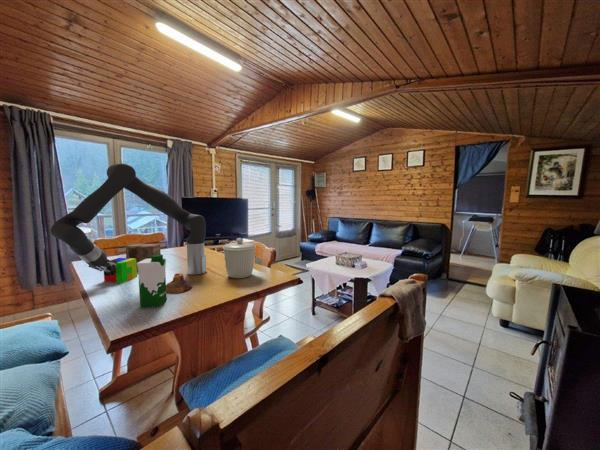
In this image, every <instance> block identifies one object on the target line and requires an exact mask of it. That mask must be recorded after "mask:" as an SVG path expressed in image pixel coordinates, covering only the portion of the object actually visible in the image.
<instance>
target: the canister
mask: <svg viewBox="0 0 600 450" xmlns="http://www.w3.org/2000/svg"><path fill="white" fill-rule="evenodd" d="M256 248H257V245H256V244H254V243H251V242H247V241H246V242H245V241H244V240H243V238H241V237H237V238H236V242H230V243H226V244H224V245H223V246H222V249H223V254H224V261H225V267H226V274H227V276H229V278H231V279H245V278H249V277H250V276H251V275H252V274H253V271H254V264H255V263H254V262H255V254H256Z"/></svg>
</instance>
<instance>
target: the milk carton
mask: <svg viewBox="0 0 600 450" xmlns="http://www.w3.org/2000/svg"><path fill="white" fill-rule="evenodd" d="M166 261H167V258H164V255H163V254H157V255H152V256H151V259H145V260H142V261H140V262H138V263H137V276H138V287H139V288H138V290H139V291H138V292H139V307H140V308H141V309H143V308H144V309H145V308H146V309H147V308H160V307H161V306H162V305H163V304H164V303H166V302H167V300H168V299H167V292H166V285H167V282H166V281H167V279H166V265H167V262H166Z"/></svg>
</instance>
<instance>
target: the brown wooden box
mask: <svg viewBox="0 0 600 450" xmlns="http://www.w3.org/2000/svg"><path fill="white" fill-rule="evenodd" d="M157 254H161V244H160V243H131V244H128V245H126V246H125V258H134V259H136V263H138V262H140V261H142V260H145V259H151V256H152V255H157Z"/></svg>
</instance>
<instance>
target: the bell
mask: <svg viewBox="0 0 600 450" xmlns="http://www.w3.org/2000/svg"><path fill="white" fill-rule="evenodd" d="M192 287H193V285H192V283H191V282H190V281H189V280H186V279H185V278H184V274H183V273H174V277H172V280H171V281H169V282H168V283H166V294H167V293H169V294H181V293H185V292H188V291H190V290H191V289H192Z"/></svg>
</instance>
